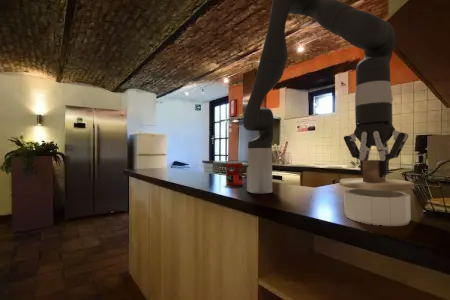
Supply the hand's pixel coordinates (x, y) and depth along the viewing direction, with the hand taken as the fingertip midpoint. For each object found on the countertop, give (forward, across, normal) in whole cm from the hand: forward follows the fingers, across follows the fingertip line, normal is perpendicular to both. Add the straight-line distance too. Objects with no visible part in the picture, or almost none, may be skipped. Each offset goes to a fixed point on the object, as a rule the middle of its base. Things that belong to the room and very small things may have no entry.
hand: (374, 176), depth 59 cm
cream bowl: (+10, 0, 0) cm, 10 cm away
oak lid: (+2, 0, 0) cm, 2 cm away
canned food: (+10, -68, +14) cm, 70 cm away
